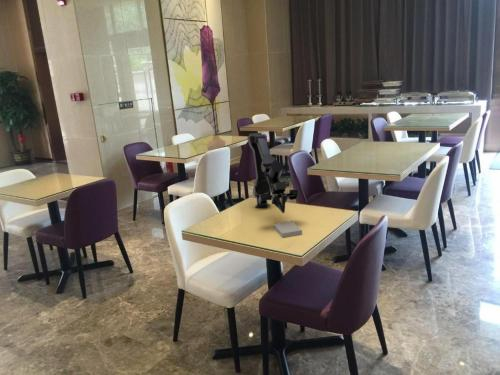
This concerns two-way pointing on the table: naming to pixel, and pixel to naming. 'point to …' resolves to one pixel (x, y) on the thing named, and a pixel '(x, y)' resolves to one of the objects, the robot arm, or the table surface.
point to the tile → (287, 229)
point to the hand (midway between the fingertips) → (283, 212)
